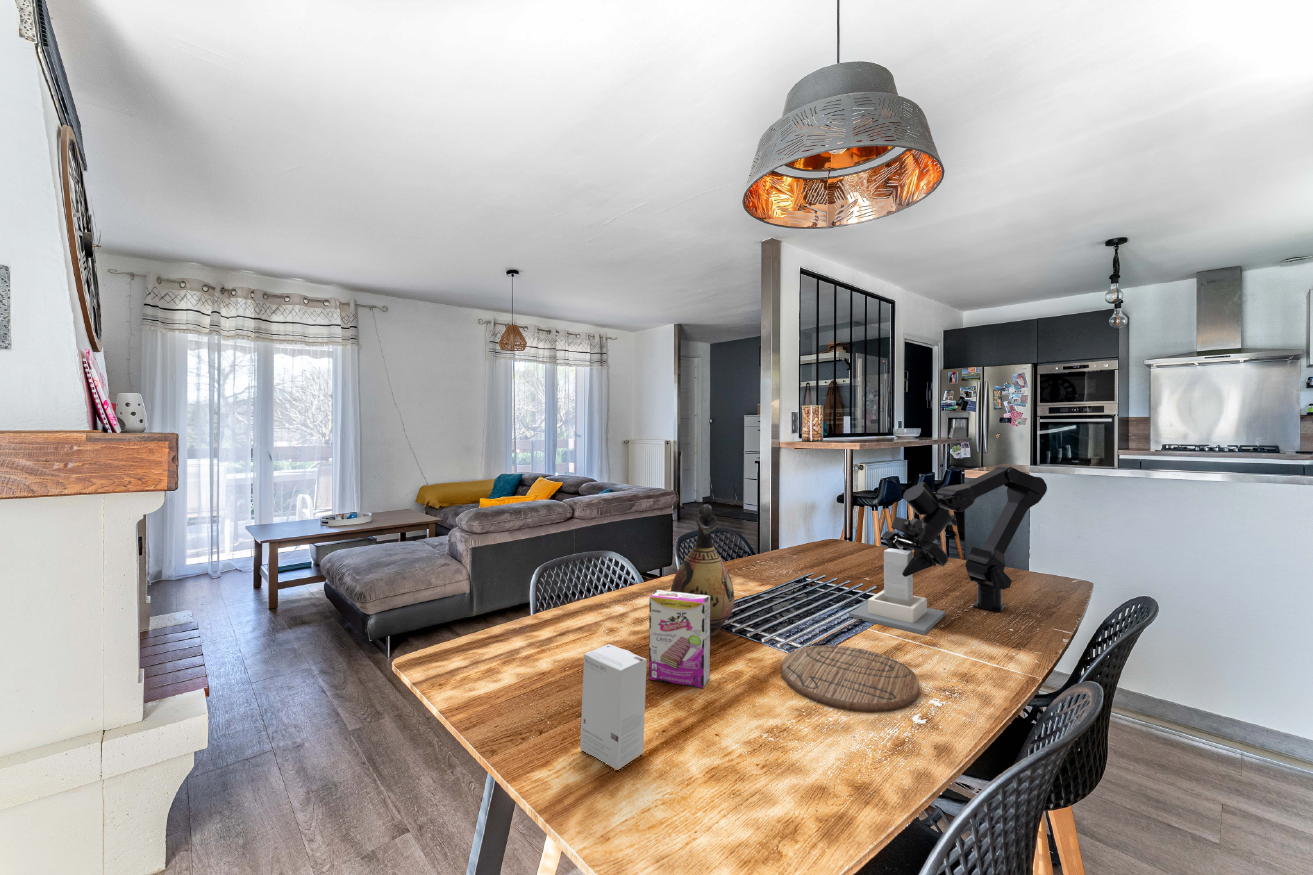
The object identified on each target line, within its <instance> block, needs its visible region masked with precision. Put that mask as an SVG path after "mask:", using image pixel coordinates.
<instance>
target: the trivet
mask: <svg viewBox="0 0 1313 875" xmlns="http://www.w3.org/2000/svg"><path fill="white" fill-rule="evenodd" d="M781 673H782V674H781V675H782V680H784V682H785V683H786V684H787V686H789V687H790V688H791V689H792V690H793V691H794V692H796V693H798V694H799V695H800V696H803V697H805V698H806V699H809V700H811V701H813V702H815V703H819V704H822V705H825V706H828V707H829V708H830V707H831V708H835V709H840V710H845V711H850V712H863V713H884V712H886V713H887V712H892V711H898V710H900V709H905V708H907V707H909V706H911V705H912V704H914V703H915V702H916V701H917V699H918V698H919V697H920V683H919V682H920V681H919V678H918V676H917V675H916V674H915V672H914V671H913V670H911V669H910V668H909V667H908V666H907V665H905V664H904V663H903V662H900V661H898V660H896V659H895V658H892V657H890V656H887V655H884V654H882V653H879V652H876V651H872V650H868V649H864V648H859V647H854V646H853V647H852V646H846V645H832V644H830V645H829V644H827V645H812V646H805V647H802V648H801V647H800V648H799V649H796V650H793V651H791V652H790V653H788V654H787V655H785V656H784V658H783V660H782V662H781Z"/></svg>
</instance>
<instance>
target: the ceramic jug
mask: <svg viewBox="0 0 1313 875" xmlns="http://www.w3.org/2000/svg"><path fill="white" fill-rule="evenodd" d="M712 510H713V507H712V505H710V504H707V503H706V504H703V505H701V506H700V507H699V511H698V513H699V514H698V515H697V517H696V518H697V519H696V525H697V538H696V541H695V546H694V547H693V548H692V549H691V550H690V552H688V555H687V556H686V557H685V558H684V559H683V561H682V563H681V564H680V566H679V567H678V569H677V571H676V573H675V575H674V578H673V581H672V584H671V588H670V591H673V592H681V593H689V594H699V595H707V596H710V637H714V636H716V635H717V634H719V632H720V629H721V628H722V627H723V625H724V624H725V623H726V622H727V621H728V619H730V617H731V615H732V613H733V608H734V605H735V590H734V586H733V581H732V577H731V575H730V573H729V571H728V569H727V567H726V565H725V564H724V562H723V560H722V557H721V556H720V554H719V553H718V551H717V550H716V549H715V545H714V543H713V540H712V537H711V536H712V531H715V530H716V528H717V524H718V521H717V517H716V515H713V514H712V513H713V511H712Z"/></svg>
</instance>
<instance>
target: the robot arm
mask: <svg viewBox="0 0 1313 875" xmlns="http://www.w3.org/2000/svg"><path fill="white" fill-rule="evenodd" d="M1002 486H1003V487H1005V488H1006V496H1007V501H1006V504H1005V506H1004V507H1003V510H1002V512H1001V513H1000V514H999V516H998V518H997V520H996V522H995V524H994V526H993V528H992V529H991V531H990V533H989V535H988V536H987V539H986V541H985V543H984V544H983V545H981V546H980V547H978V546H977V547H976V546H973V547H972V548H971V549H970V552H969V554H968V556H967V557H965V560H966V562H965V569H966V572H967V575H968V578H969V580H970V582H974V583H976V588H977V589H976V590H977V592H976V602H974V604H972V607H973V608H976V609H977V608H978V609H982V610H988V611H993V612H998V613H1001V612H1002V611H1003V610H1004V609H1005V607H1006V604H1003V603H1002V602H1003V598H1002V597H1003V590H1007V589H1010V588H1011V585H1012V584H1011V583H1012V579H1011V578H1010V577H1009V576H1008V574H1007V573H1006V572H1005V568H1006V559H1005V553H1006V551H1007V549H1008V548H1009V545H1010V543H1011V542H1012V540H1013V538H1014V537H1015V536H1014V535H1015V534H1016V532H1017V530H1018V529H1019V527H1020V525H1021V523H1022V521H1023V519H1024V517H1025V515H1026V513H1027V511H1028V510H1029V509H1030V508H1032V507H1033V506H1035V505H1037V504H1038V503H1040V501H1041V500H1042V498H1044V496H1045V494H1046V493H1047V491H1048V486H1047V483H1046V482H1045V480H1044V479H1043V477H1040V476H1034V475H1032V474H1029V473H1027V472H1023V471H1020V470H1018V469H1017V468H1015V467H1012V466H1002V465H998V466H996V467H995V468H993V469H992V470H990V471H987V472H986V473H984V474H982V475H979V476H977V477H975V478H973V479H971V480H968V481H967V482H965V483H961V484H954V485H948V486H945V487H941V488H939V489H938V490H936V492H934V491H932V489H931V488H930V487H929V485H928V484H927V482H922V481H919V482H918V484H917V485H913V486H912V487H909V488H908V489H906V490H905V492H904V493H903V495H902V496H903V499H904V501H905V502H906V503H907V504H908V506H909V507H910V508H911V509H913V511H914V512H915V513H916V514H917V515H918V516H919V515H920V516H921V515H922V517H921V519H918V518H914V517H913V518H912V519H910V520H909V519H906V518H903V517H900V516H895V517H894V519H893V522H892V524H891V526H890V529H893V531H892V530H885V532H884V533H883V534H882V536H881V538H882V539H883V540H884V541H885V542H886V544H887V546H888V548H887V549H889V548H891V549H899V550H906V551H908V550H910V551H913V555H912V559H911V561H910V562H909V564H908V565H907V567H906V568H905V569H904V571H903V573H902V575H903V576H904V577H907V576H909V575H911V574H913V575H914V574H916V573H918V572H921V571H923V570H926V569H928V568H931V567H937V565H938V566H940V567H944V566H946V564H947V562H949V555H948V554H947V552H945V551H944V550H943V548H941V546H940V545H939V544H938V543H936V542H940V541H941V540H942V538H941V536H940V535H941V533H942V532H943V531H944V529H945V528H947V526H948V525H951V526H954V527H957V525H958V521H957V518H956V517H957V516H956V515H955V514H951V513H950V512H949V511H953V512H958V513H959V512H965V510H967V509H969V507H971V506H972V505H974V502H976V501H975V500H976V499H978V498H979V497H981V496H983V495H986V494H988V493H989V492H991V491H994V490H996V489H998V488H1001V487H1002ZM894 530H897V531H899V532H901V534H900V533H899V532H896V531H894ZM904 538H905V539H904ZM882 566H883V568H884V564H883V565H882Z"/></svg>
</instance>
